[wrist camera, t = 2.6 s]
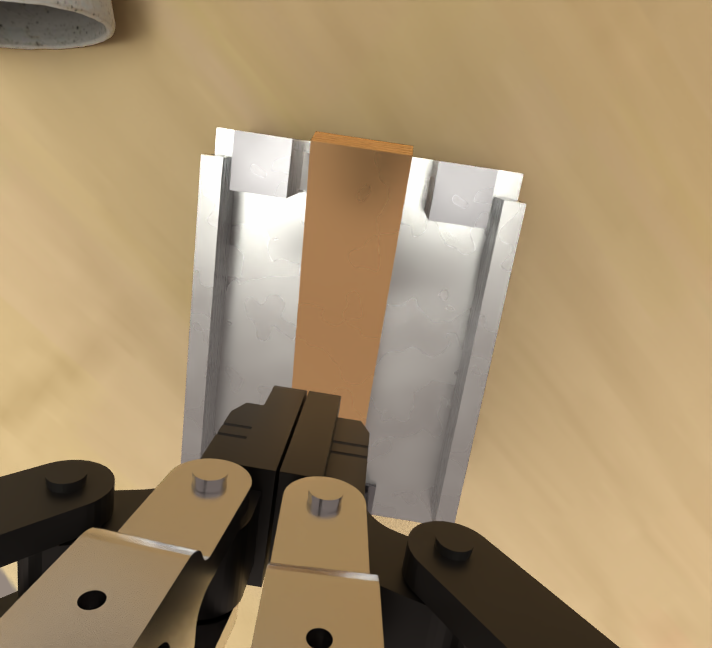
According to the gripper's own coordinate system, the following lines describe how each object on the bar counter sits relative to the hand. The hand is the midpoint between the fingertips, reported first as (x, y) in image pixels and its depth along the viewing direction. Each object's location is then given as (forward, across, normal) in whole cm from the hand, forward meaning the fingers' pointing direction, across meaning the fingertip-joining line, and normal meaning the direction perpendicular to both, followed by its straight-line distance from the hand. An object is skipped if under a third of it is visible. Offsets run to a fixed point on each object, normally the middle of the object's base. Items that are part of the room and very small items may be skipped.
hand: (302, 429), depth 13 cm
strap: (+9, 0, +2) cm, 10 cm away
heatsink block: (+17, 0, +2) cm, 17 cm away
